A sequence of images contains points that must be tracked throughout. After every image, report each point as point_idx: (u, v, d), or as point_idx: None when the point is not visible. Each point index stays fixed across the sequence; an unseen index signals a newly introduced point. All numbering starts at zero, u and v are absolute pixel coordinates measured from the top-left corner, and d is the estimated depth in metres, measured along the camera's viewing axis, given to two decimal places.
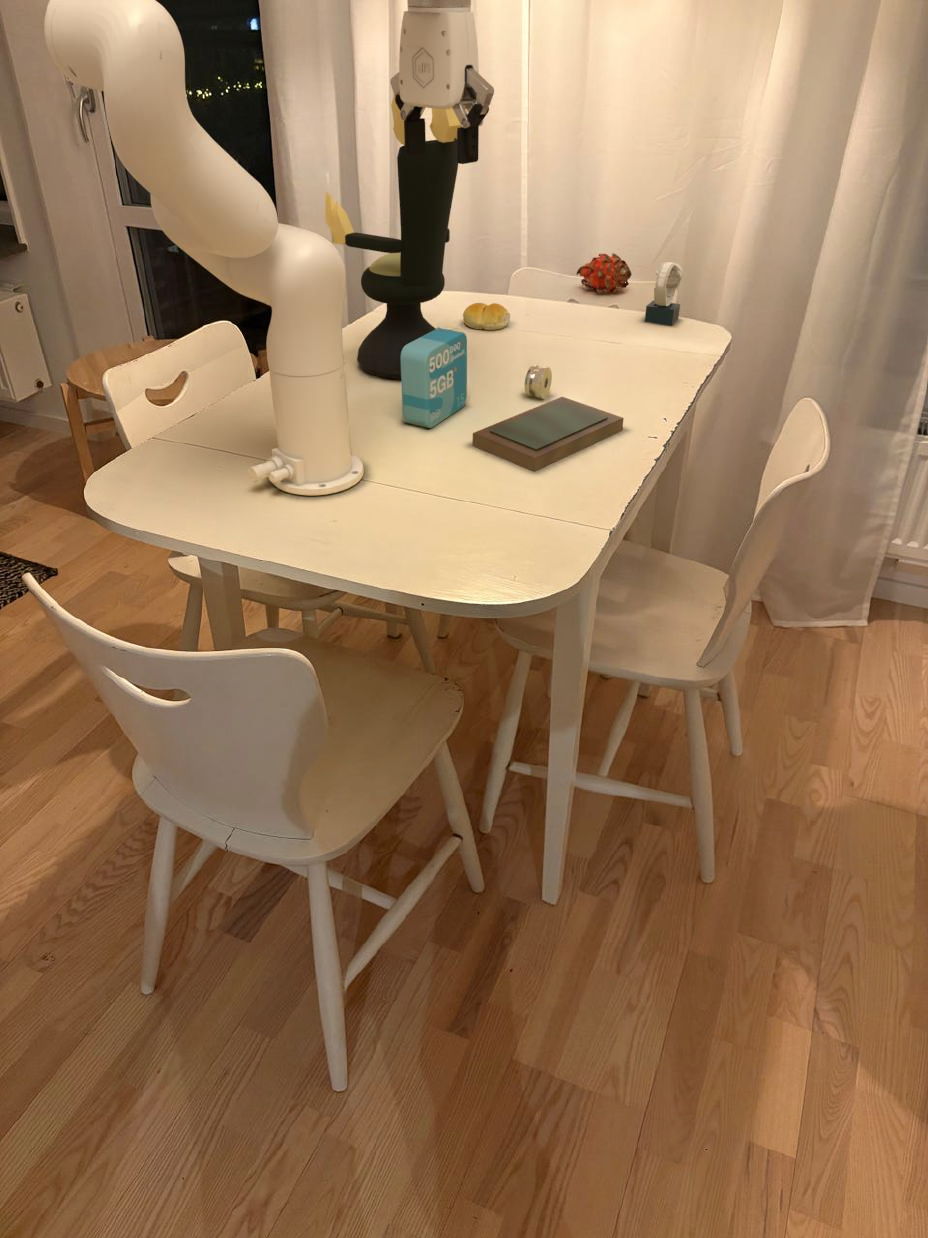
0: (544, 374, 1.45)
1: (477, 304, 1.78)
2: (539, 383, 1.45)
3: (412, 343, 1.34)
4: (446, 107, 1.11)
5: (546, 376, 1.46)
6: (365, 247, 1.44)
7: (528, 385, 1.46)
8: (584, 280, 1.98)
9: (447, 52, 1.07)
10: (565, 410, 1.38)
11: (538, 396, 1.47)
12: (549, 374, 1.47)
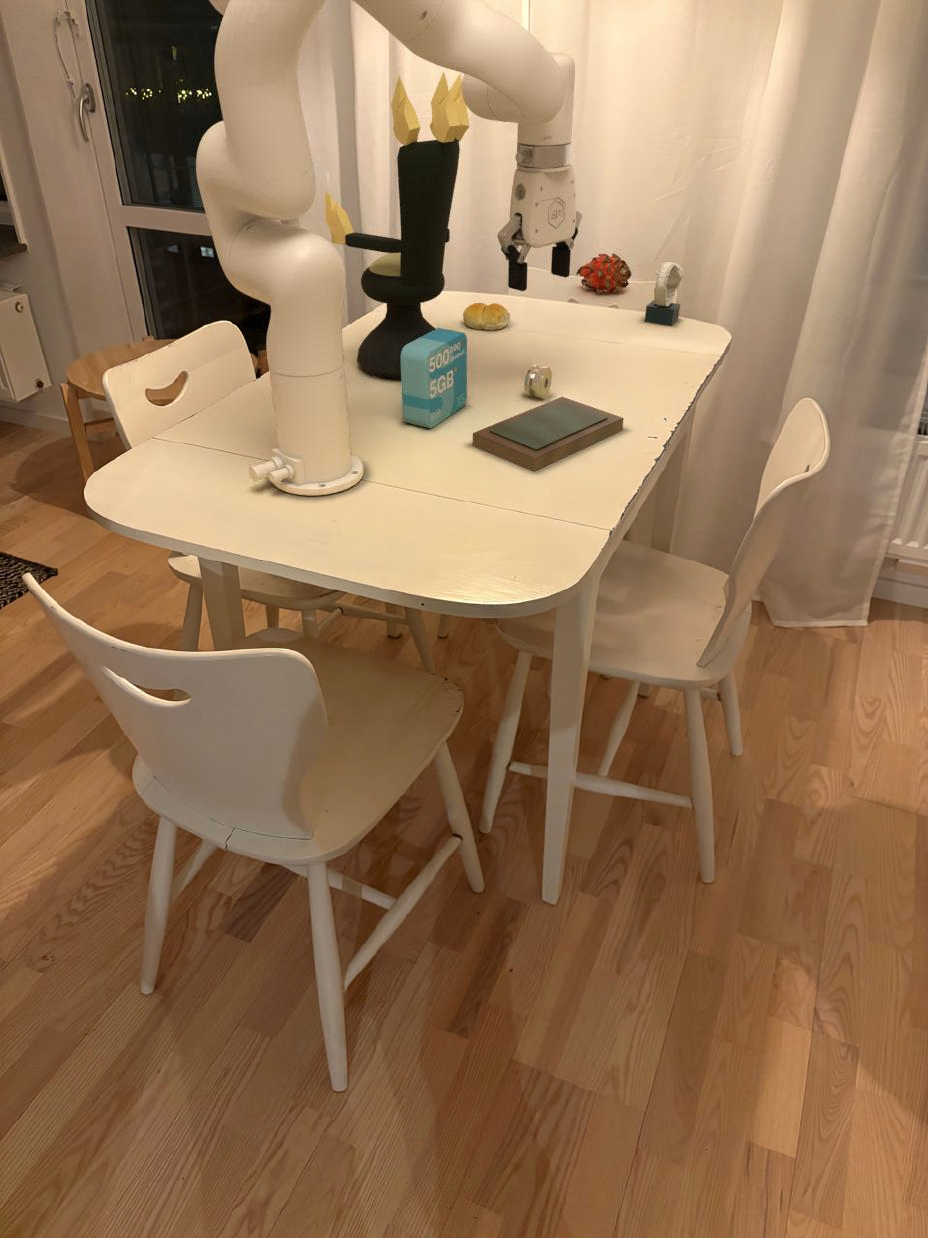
0: (544, 374, 1.45)
1: (477, 304, 1.78)
2: (539, 383, 1.45)
3: (412, 343, 1.34)
4: (570, 237, 1.35)
5: (546, 376, 1.46)
6: (365, 247, 1.44)
7: (528, 385, 1.46)
8: (584, 280, 1.98)
9: (574, 195, 1.32)
10: (565, 410, 1.38)
11: (538, 396, 1.47)
12: (549, 374, 1.47)
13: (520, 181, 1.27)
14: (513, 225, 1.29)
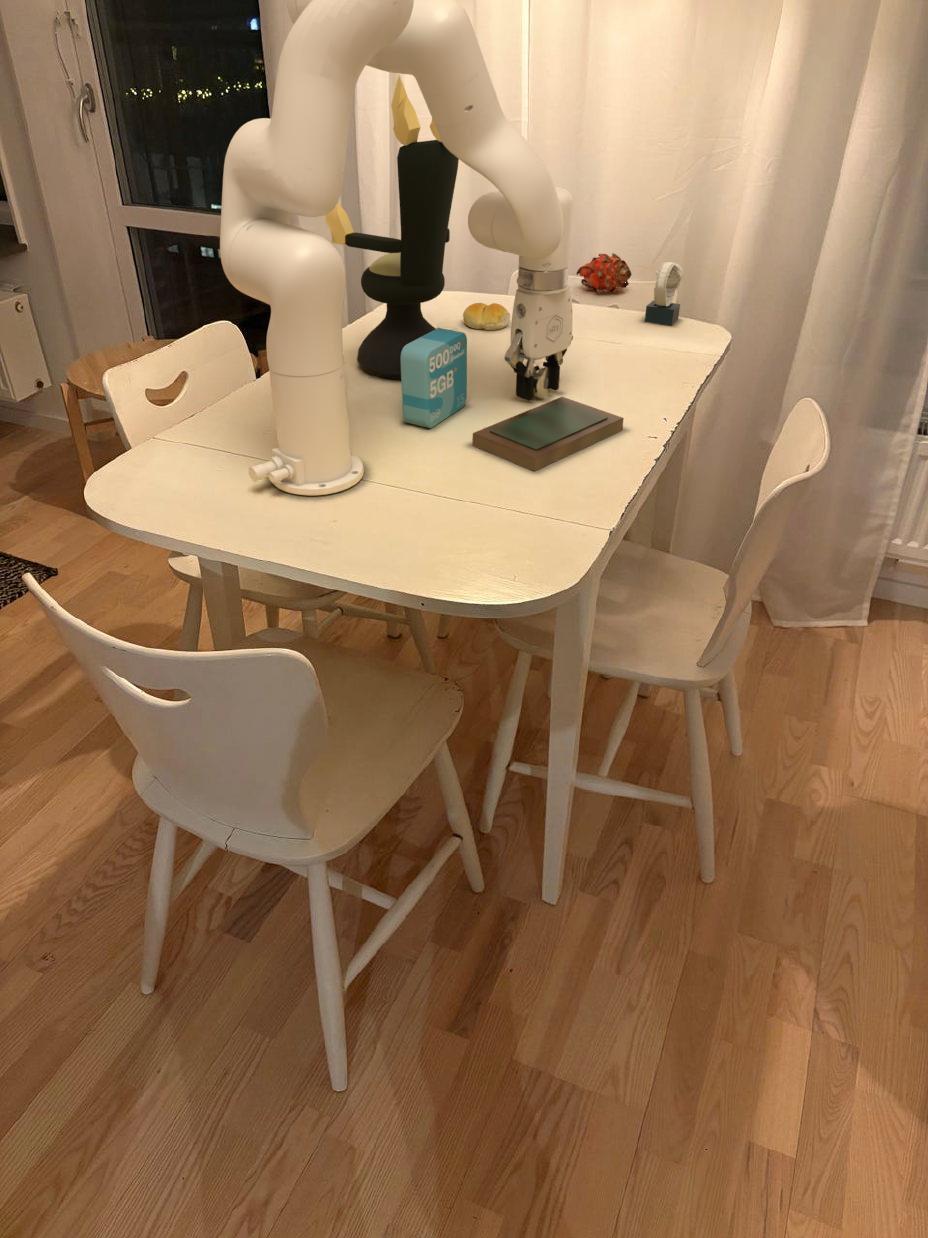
0: (544, 374, 1.45)
1: (477, 304, 1.78)
2: (539, 383, 1.45)
3: (412, 343, 1.34)
4: (567, 347, 1.45)
5: (546, 376, 1.46)
6: (365, 247, 1.44)
7: None
8: (584, 280, 1.98)
9: (570, 311, 1.42)
10: (565, 410, 1.38)
11: (538, 396, 1.47)
12: (549, 374, 1.47)
13: (521, 301, 1.37)
14: (517, 346, 1.40)
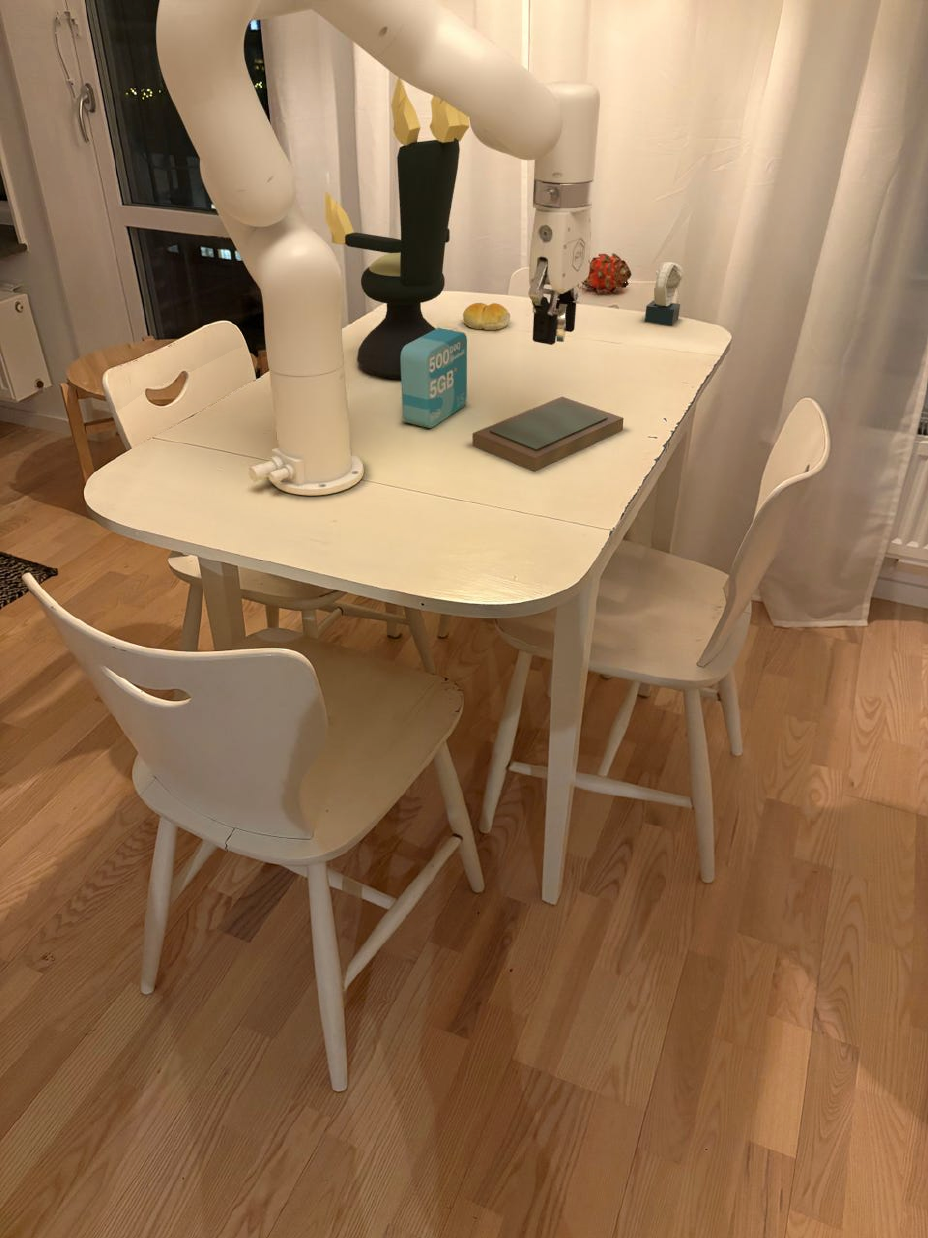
0: (565, 312, 1.24)
1: (477, 304, 1.78)
2: (561, 323, 1.23)
3: (412, 343, 1.34)
4: None
5: None
6: (365, 247, 1.44)
7: None
8: None
9: (590, 234, 1.21)
10: (565, 410, 1.38)
11: (559, 339, 1.25)
12: (566, 312, 1.26)
13: (545, 222, 1.15)
14: (542, 278, 1.17)
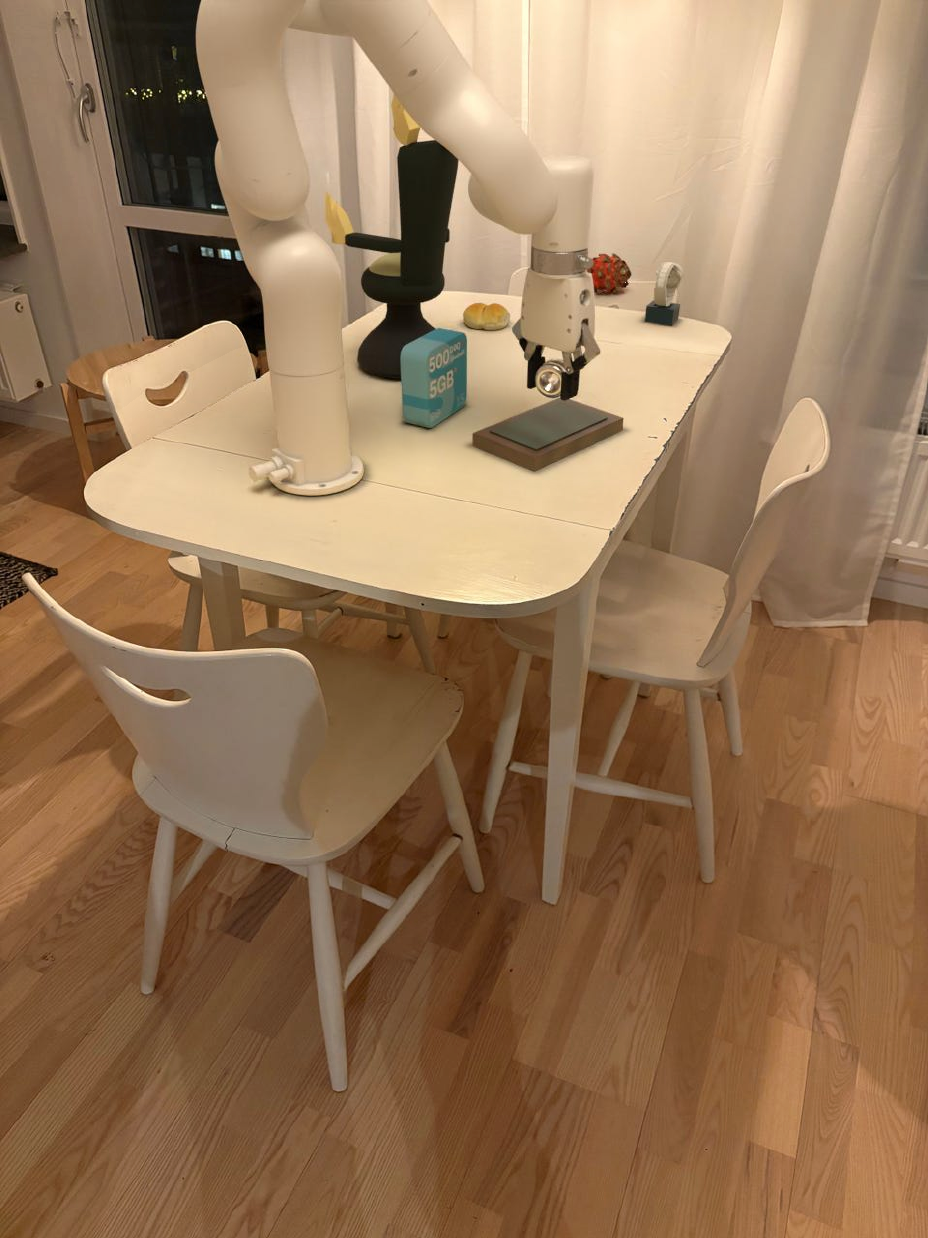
0: None
1: (477, 304, 1.78)
2: None
3: (412, 343, 1.34)
4: None
5: None
6: (365, 247, 1.44)
7: None
8: None
9: None
10: (565, 410, 1.38)
11: None
12: None
13: (584, 287, 1.20)
14: (592, 336, 1.23)
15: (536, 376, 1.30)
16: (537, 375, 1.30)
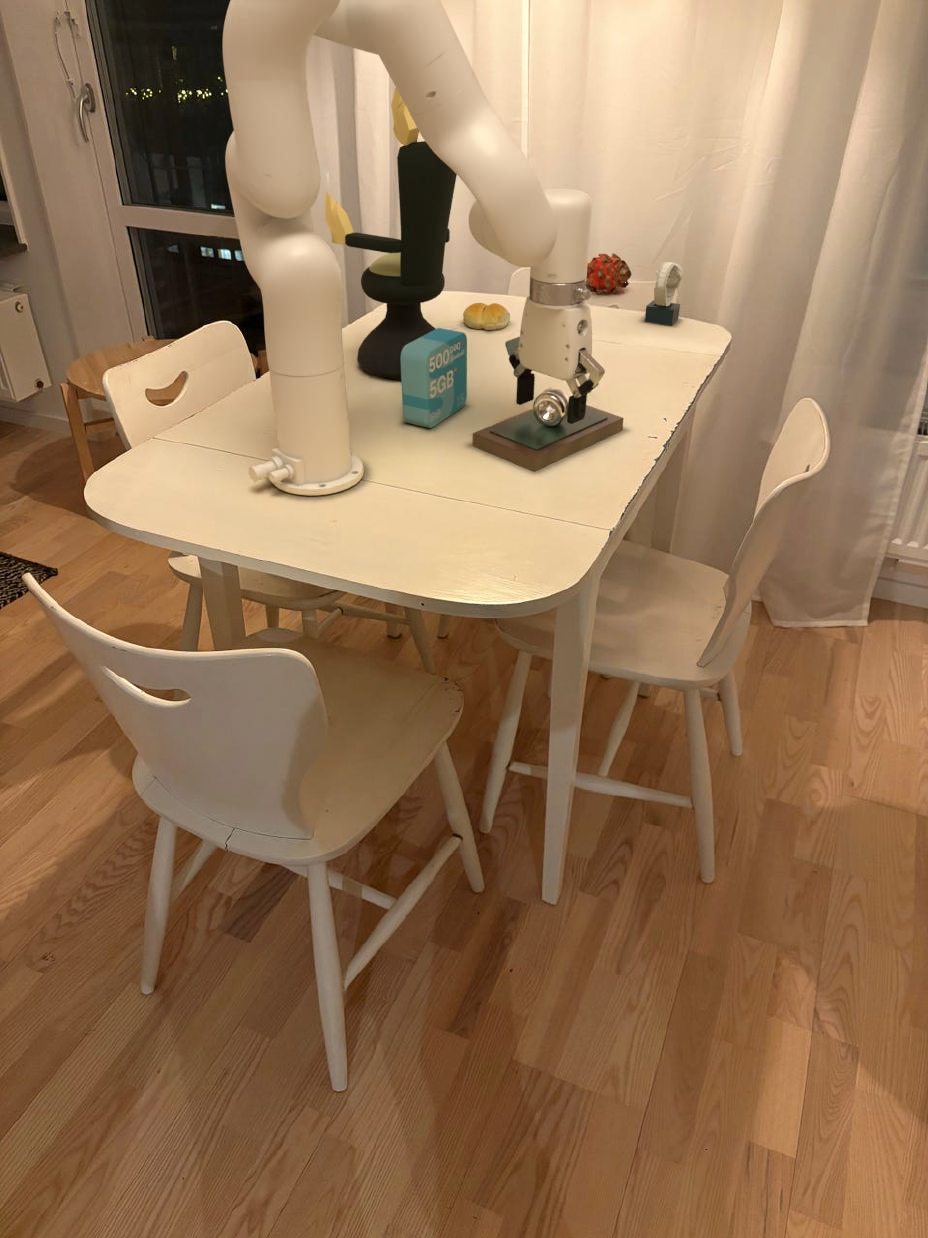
0: None
1: (477, 304, 1.78)
2: None
3: (412, 343, 1.34)
4: None
5: None
6: (365, 247, 1.44)
7: (565, 411, 1.31)
8: None
9: None
10: None
11: (564, 418, 1.34)
12: None
13: (582, 317, 1.22)
14: (593, 359, 1.24)
15: (534, 405, 1.32)
16: (535, 404, 1.32)
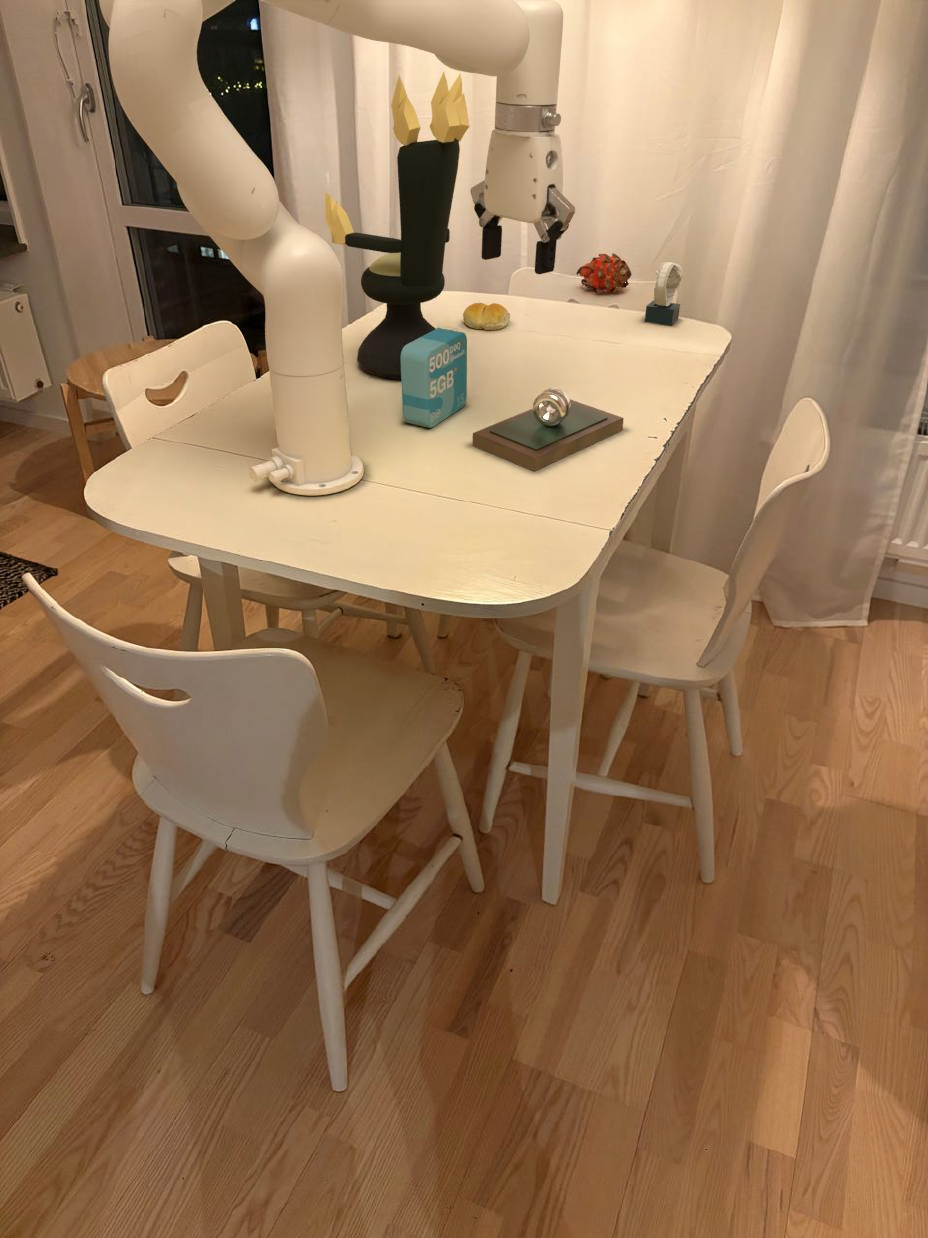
0: None
1: (477, 304, 1.78)
2: (570, 403, 1.32)
3: (412, 343, 1.34)
4: None
5: None
6: (365, 247, 1.44)
7: (565, 411, 1.31)
8: (584, 280, 1.98)
9: None
10: None
11: (564, 418, 1.34)
12: None
13: (551, 147, 1.11)
14: (563, 197, 1.14)
15: (534, 405, 1.32)
16: (535, 404, 1.32)
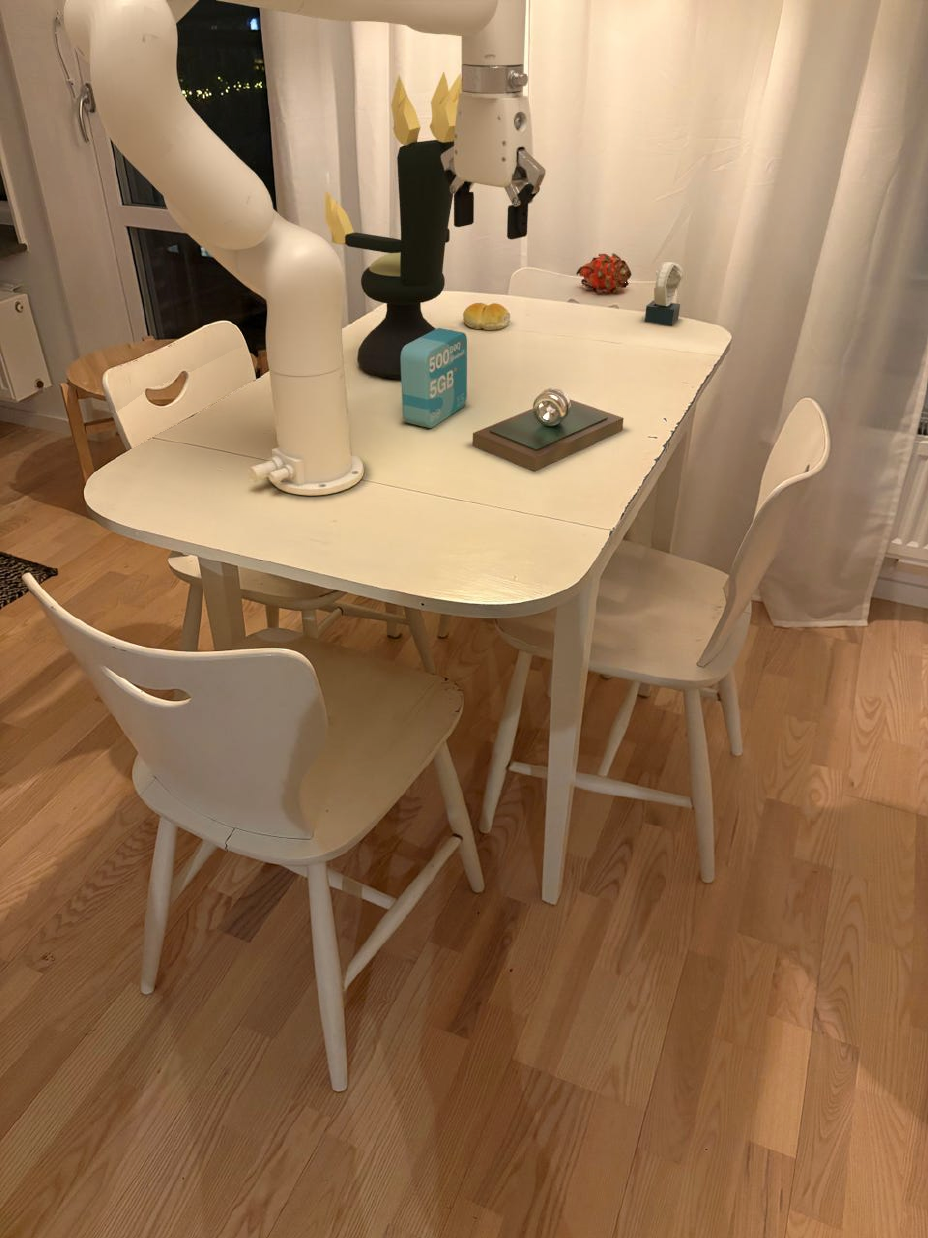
0: None
1: (477, 304, 1.78)
2: (570, 403, 1.32)
3: (412, 343, 1.34)
4: None
5: None
6: (365, 247, 1.44)
7: (565, 411, 1.31)
8: (584, 280, 1.98)
9: None
10: None
11: (564, 418, 1.34)
12: None
13: (519, 108, 1.10)
14: (533, 159, 1.12)
15: (534, 405, 1.32)
16: (535, 404, 1.32)
